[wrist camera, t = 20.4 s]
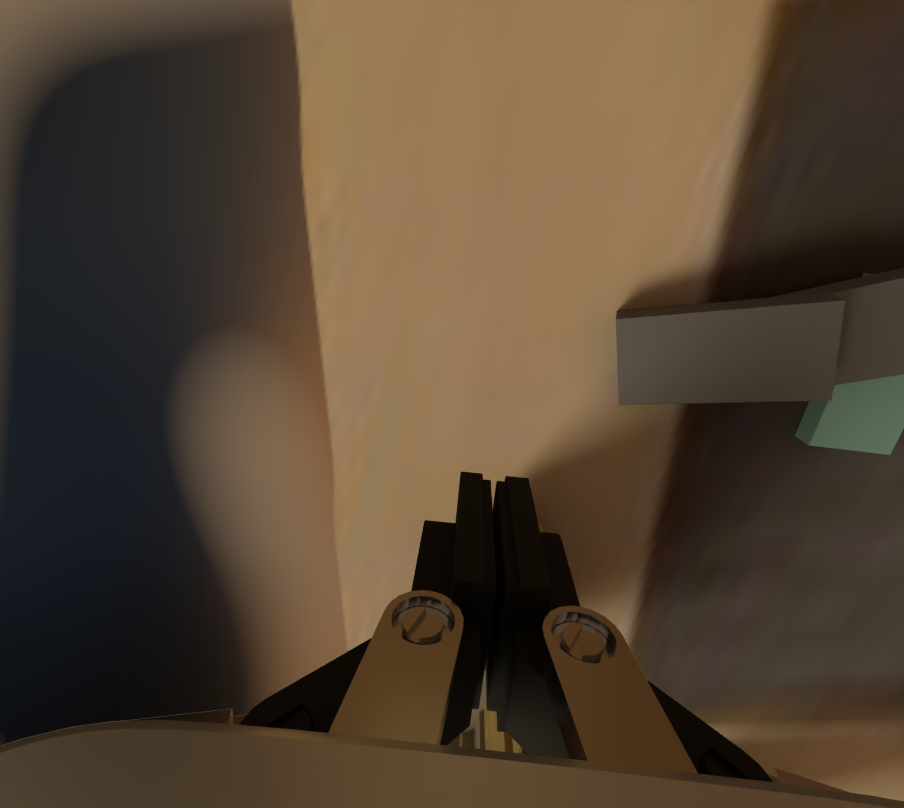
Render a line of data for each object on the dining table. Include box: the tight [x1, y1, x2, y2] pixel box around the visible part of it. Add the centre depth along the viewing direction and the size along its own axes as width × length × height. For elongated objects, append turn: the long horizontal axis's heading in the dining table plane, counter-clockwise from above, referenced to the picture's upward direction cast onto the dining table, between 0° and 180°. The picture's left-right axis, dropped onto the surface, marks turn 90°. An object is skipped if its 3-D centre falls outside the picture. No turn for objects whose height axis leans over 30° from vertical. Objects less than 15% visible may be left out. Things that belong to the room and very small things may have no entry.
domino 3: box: [795, 273, 904, 455], centre depth 27 cm, size 5×2×10 cm
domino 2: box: [769, 268, 904, 385], centre depth 25 cm, size 5×2×10 cm
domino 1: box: [616, 293, 845, 405], centre depth 25 cm, size 5×2×10 cm
